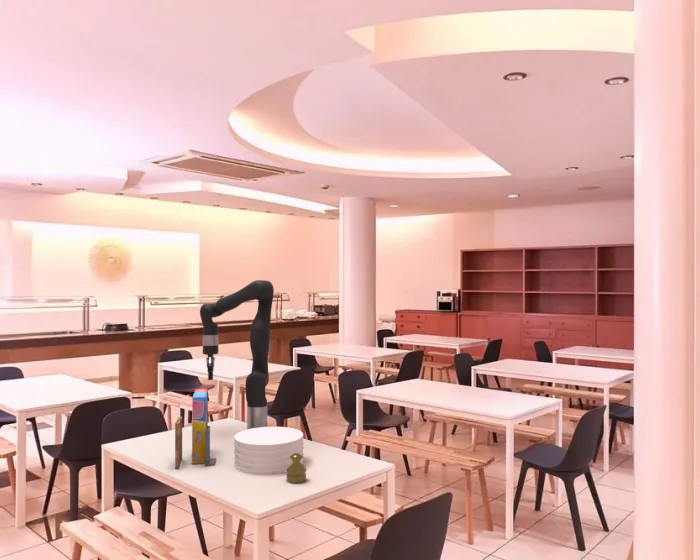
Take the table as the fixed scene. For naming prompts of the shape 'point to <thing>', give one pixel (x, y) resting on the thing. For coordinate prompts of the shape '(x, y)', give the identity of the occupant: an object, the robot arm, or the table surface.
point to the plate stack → (266, 449)
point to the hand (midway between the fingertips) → (210, 379)
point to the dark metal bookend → (208, 449)
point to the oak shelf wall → (178, 442)
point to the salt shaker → (296, 469)
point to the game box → (199, 424)
